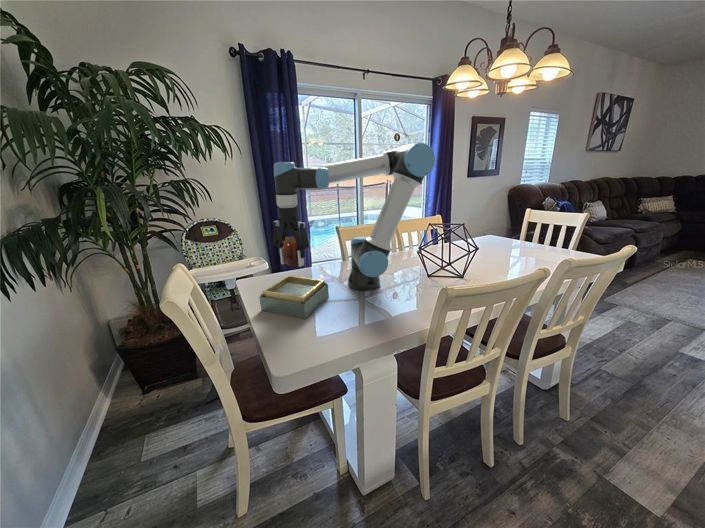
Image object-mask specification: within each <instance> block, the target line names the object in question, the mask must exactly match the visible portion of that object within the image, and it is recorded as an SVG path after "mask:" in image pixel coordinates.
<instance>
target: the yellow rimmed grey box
mask: <svg viewBox="0 0 705 528" xmlns="http://www.w3.org/2000/svg"><path fill="white" fill-rule="evenodd" d="M325 281H326V280H325V279H318V278H311V277H302V276H296V275H295V276H294V275H287V276H285V277H283V278H282V279H280V280H279V281H277V282H275V283H273V284H272V285H270V286H269V287H267V288H266V289H264V290H262V291H261V292H262V293H260V296H259V297H258V298H259V302H260V310H261V311H263V312H269V313H273V314H277V315H283V316H289V317H294V318H298V319H299V318H300V319H303V320H304V319H307V318H308V317H309V316H310V315H311V314H312V313H314V311H315V310H317V308H318V307H320V306H321V305H322V304H323V303H324V302H326V300H327V299H328V298H329V283H327V282H325Z"/></svg>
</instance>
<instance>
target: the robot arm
mask: <svg viewBox="0 0 705 528" xmlns="http://www.w3.org/2000/svg"><path fill="white" fill-rule="evenodd" d="M435 163H436V155H435V152H434V149H433V148H432V147H431V146H430V145H428V144H427V143H424V142H413V143H410V144H404V145H401V146H399V147H397V148H394V149H391V150H386V151H383V152H382V154H378V155H373V156H372V155H371V156H368V157H362V158H354V159H350V160H345V161H340V162H339V161H338V162H334V163H333V162H332V163H328V164H323V165H318V166H317V165H316V166H311V167H310V166H308V167H296V165H295V162H294V161H291V162H290V161H287V162H285V161H281V162H280V161H278V162H275V163H274V164H273V178H274V186H275V200H276V206H277V210H276V211H277V217H278V218H279V219H278V220H274V221H272V228H273V235H272V240H273V242H272V245H273V246H274V247H277V250H278V256H280V265H285V264H286V261H285V255H284V246H283V243H282V241H285V238H286V237H287V233H288V232H290V233H291V235H293V236H292V237H294V238H295V240H296V243H297V245H298V248H299V250H298V263H299V265H298V267H299V268H301V267H302V266H304V265H305V257H306V249H309V248H310V244H309V239H308V234H307V233H308V231H307V223H306V222H305V221H304V222H302V221H300V220H299V207H298V206H297V205H299V204H298V191H297V190H318V189H319V190H322V189H328V188H329V186H330V184H335V183H340V182H345V181H352V180H356V179H362V178H363V179H364V178H368V177H373V176H378V175H385V176H391V175H392V176H393V178H394V180H393V182H392V185H391V186H390V189H389V191H388V194H387V196H386V198H385V200H384V203H383V205H382V208H381V209H380V212H379V215H378V216H377V219H376V221H375V224H374V226H373V228H372V230H371V232H370V233H371V234H370V235H369V236H355V237H352V238H351V239H350V252H351V253H350V257H351V258H350V260H351V270H350V273H349V276H348V278H347V286H348V287H349V288H351V289H353V290H356V291H372V290H375V289H377V288H380V286H381V280H380V276H382V275H383V274H384V273H385V272H386V271H387V269H388V267H389V259H388V258H389V255H390V252H391V251H392V248H391V242H392V240H393V237H394V236H395V233H396V231H397V229H398V226H399V224H400V222H401V219H402V217H403V215H404V213H405V210H406V209H407V206H408V205H409V202H410V200H411V198H412V195H413V193H414V191H415V189H416V188H418V187H419V186H421V185H422V183H423V181H424V178H425V176H427V175H429V174H430V173H431V172H432V171H433V169H434V167H435V165H436V164H435ZM281 240H282V241H281Z"/></svg>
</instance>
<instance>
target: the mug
mask: <svg viewBox="0 0 705 528" xmlns="http://www.w3.org/2000/svg"><path fill="white" fill-rule="evenodd" d="M281 241H282V240H281ZM282 243H283V247H284V255H285V261H286V263H285V264H286V265H287V266H289V267H297V266H298V267H299V263H298V250H299V248H298V245H297V243H296V240H295V238H294V236H286V238H285V241H282Z"/></svg>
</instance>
